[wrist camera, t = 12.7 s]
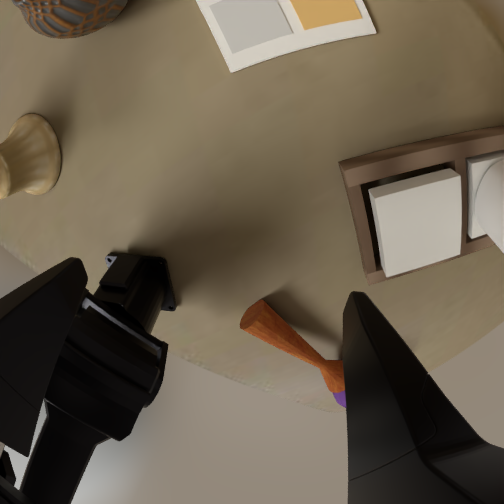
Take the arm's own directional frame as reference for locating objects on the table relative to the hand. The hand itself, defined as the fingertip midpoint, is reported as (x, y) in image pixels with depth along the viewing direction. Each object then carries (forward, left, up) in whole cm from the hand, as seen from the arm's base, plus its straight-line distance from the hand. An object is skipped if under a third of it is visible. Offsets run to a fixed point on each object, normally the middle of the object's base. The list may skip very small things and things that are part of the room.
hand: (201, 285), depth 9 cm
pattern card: (+11, -2, -13) cm, 17 cm away
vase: (+14, +11, -13) cm, 22 cm away
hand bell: (+2, +21, -13) cm, 25 cm away
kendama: (-20, -8, -14) cm, 26 cm away
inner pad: (-3, -12, -11) cm, 17 cm away
